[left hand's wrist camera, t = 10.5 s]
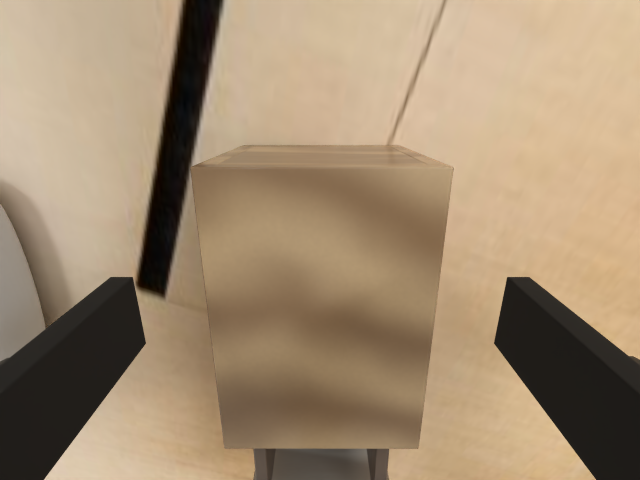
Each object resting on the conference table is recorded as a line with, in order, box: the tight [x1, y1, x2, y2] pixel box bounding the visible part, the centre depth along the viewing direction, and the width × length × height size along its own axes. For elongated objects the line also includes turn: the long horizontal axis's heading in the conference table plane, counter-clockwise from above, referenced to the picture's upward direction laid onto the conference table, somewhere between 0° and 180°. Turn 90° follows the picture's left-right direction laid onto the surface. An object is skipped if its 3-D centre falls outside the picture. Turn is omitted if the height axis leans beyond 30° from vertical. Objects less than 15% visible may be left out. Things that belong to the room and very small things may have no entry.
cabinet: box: [190, 145, 453, 449], centre depth 23 cm, size 16×11×11 cm
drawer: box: [253, 449, 389, 480], centre depth 27 cm, size 21×10×9 cm, turn 0°
